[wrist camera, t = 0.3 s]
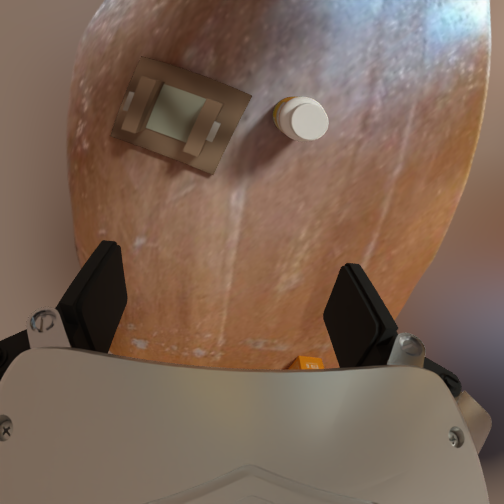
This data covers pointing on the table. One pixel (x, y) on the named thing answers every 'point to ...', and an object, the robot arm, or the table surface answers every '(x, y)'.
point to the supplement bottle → (300, 118)
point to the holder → (179, 114)
